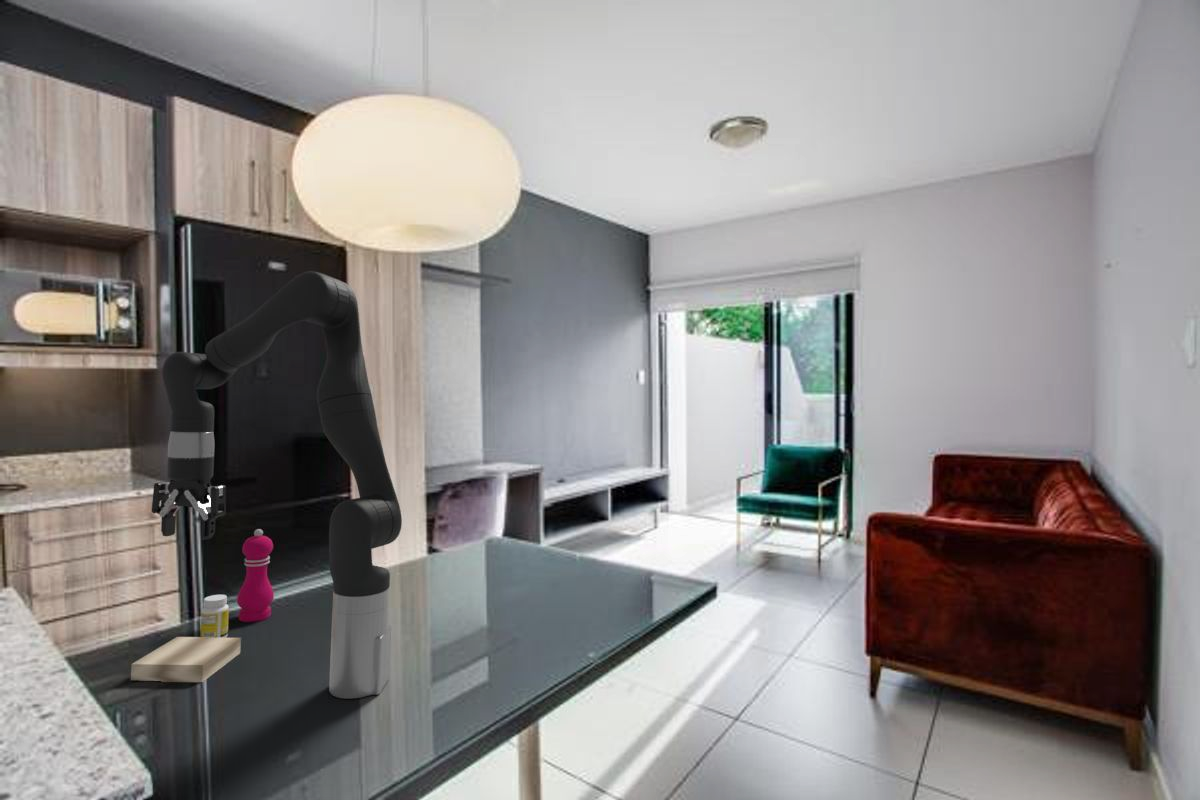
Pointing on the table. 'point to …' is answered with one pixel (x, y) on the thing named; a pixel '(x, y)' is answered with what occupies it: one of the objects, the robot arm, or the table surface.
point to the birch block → (186, 659)
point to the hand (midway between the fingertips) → (187, 537)
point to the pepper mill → (256, 579)
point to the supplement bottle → (215, 617)
